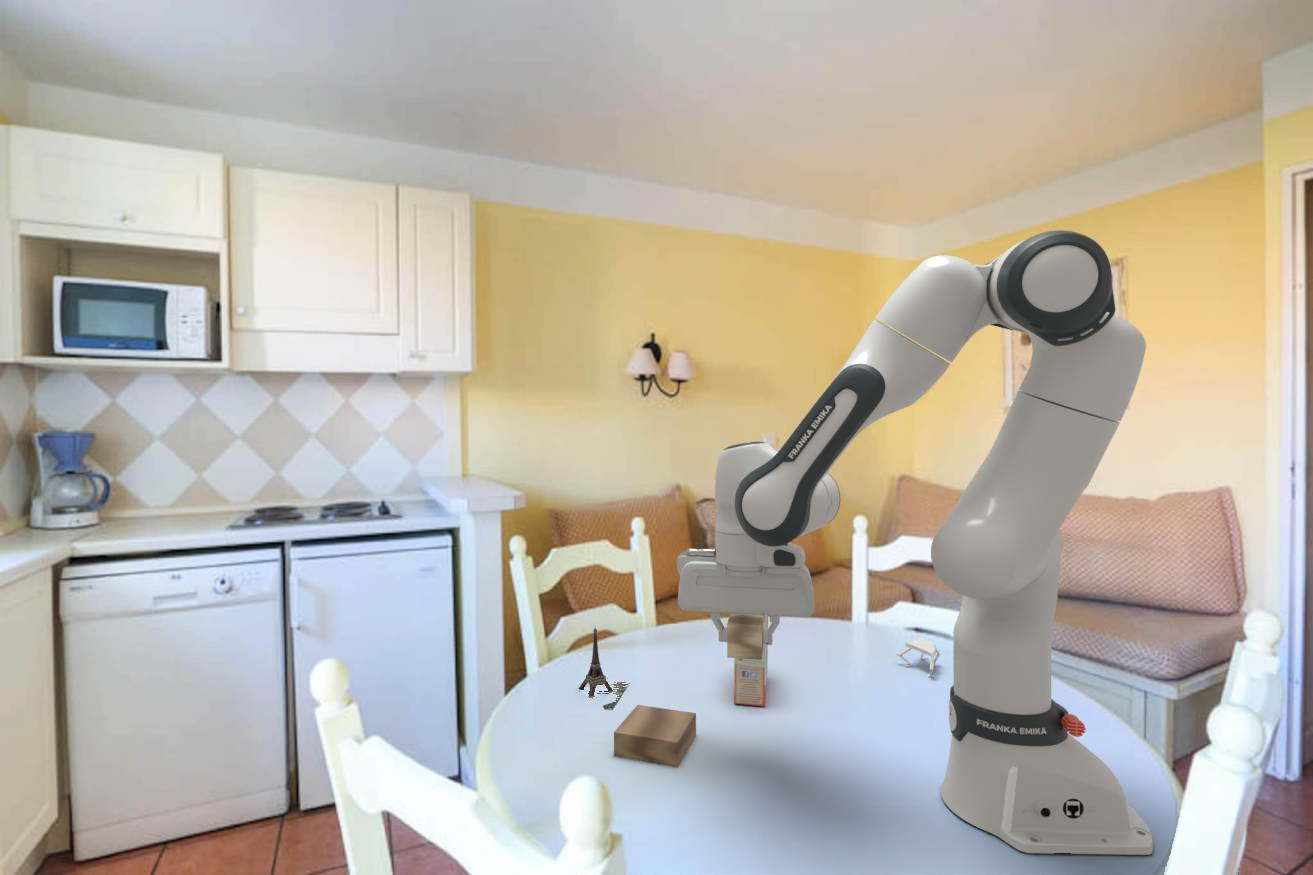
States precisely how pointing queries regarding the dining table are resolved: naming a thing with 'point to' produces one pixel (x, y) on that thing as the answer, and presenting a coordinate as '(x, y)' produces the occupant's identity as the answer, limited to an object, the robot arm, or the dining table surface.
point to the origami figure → (922, 647)
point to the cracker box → (751, 676)
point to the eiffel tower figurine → (600, 678)
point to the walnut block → (655, 735)
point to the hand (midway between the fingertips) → (745, 642)
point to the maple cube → (745, 636)
